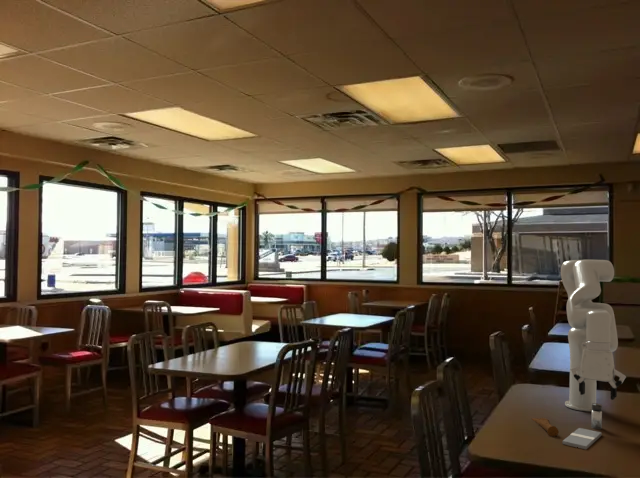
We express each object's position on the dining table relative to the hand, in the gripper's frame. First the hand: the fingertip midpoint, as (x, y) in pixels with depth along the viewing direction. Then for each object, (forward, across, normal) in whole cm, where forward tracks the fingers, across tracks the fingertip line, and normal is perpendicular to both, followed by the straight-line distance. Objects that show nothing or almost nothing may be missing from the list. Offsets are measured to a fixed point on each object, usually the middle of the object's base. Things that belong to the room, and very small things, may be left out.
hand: (597, 396), depth 197 cm
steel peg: (+11, 0, +1) cm, 11 cm away
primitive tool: (+12, -14, -11) cm, 21 cm away
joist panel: (+11, 0, -16) cm, 20 cm away
